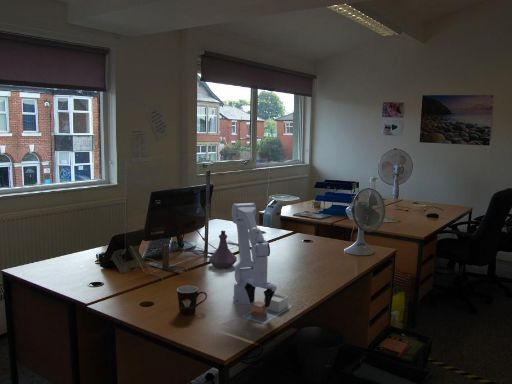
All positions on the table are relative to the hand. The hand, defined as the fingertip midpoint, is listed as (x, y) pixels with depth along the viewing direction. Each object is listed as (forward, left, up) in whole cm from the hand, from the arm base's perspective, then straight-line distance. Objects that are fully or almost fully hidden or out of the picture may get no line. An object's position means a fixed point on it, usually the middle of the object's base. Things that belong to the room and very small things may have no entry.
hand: (259, 304), depth 188 cm
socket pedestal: (+8, +8, -5) cm, 12 cm away
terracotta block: (0, 0, -5) cm, 5 cm away
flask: (-13, +69, -6) cm, 71 cm away
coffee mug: (-28, +6, -6) cm, 29 cm away
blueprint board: (+4, +4, -6) cm, 8 cm away
